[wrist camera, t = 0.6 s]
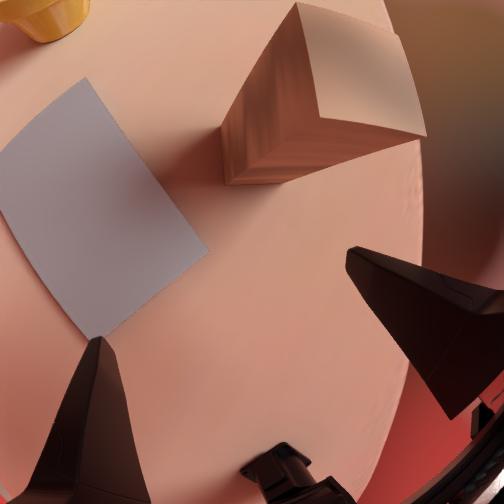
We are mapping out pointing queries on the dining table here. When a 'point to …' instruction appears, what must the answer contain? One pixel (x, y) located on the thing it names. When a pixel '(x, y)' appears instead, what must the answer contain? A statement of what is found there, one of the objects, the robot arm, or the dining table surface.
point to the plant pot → (44, 17)
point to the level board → (92, 213)
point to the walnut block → (319, 99)
